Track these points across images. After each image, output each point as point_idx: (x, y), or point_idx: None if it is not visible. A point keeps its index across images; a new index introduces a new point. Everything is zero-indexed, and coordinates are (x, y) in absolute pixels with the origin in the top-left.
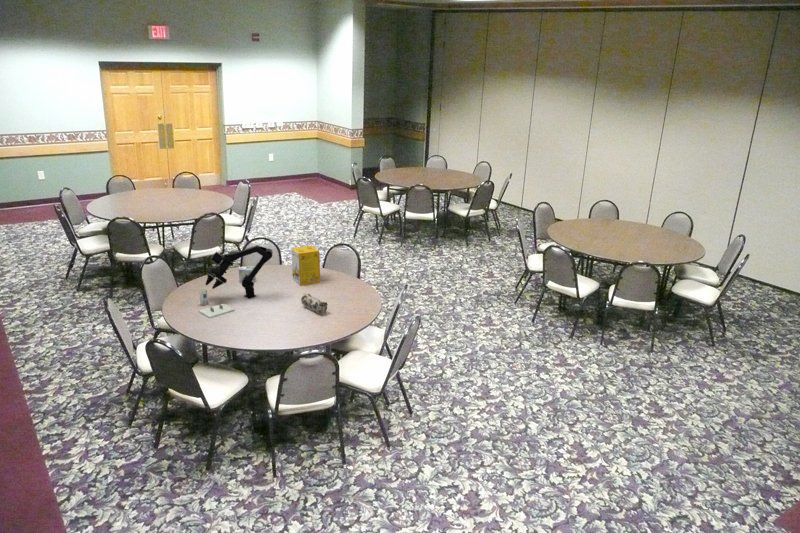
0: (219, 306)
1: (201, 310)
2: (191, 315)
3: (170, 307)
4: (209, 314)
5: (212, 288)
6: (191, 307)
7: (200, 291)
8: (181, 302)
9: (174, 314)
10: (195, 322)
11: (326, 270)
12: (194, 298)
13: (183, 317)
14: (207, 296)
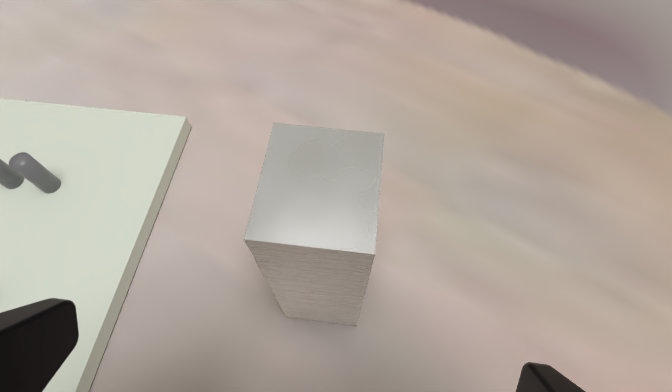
0: None
1: (164, 131)
2: (193, 58)
3: (493, 45)
4: (11, 125)
5: (59, 309)
6: None
7: (322, 130)
8: (557, 150)
9: (328, 5)
10: (59, 16)
11: None
12: (604, 311)
13: (219, 13)
14: (268, 280)
